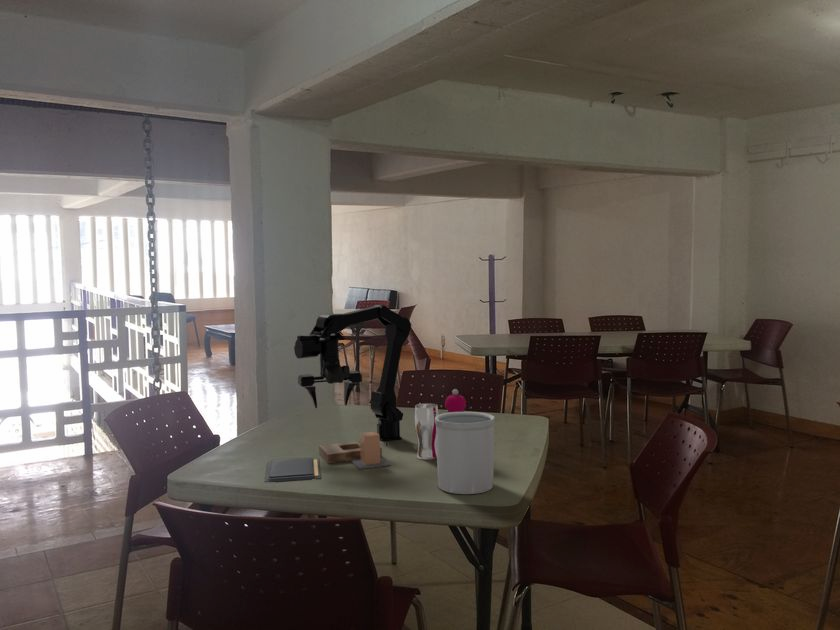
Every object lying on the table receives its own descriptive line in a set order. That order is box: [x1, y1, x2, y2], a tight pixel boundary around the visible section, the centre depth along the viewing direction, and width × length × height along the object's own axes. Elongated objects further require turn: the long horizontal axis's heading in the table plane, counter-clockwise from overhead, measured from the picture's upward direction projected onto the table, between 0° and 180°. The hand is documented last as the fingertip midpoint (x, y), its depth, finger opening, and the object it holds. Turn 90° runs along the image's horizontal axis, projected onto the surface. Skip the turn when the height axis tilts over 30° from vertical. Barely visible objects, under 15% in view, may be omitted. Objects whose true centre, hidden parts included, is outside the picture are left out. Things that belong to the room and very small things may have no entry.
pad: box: [350, 456, 391, 470], centre depth 196 cm, size 9×9×1 cm
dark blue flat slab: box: [264, 457, 322, 483], centre depth 190 cm, size 20×2×15 cm
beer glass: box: [413, 403, 439, 461], centre depth 201 cm, size 7×7×15 cm
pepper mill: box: [444, 388, 467, 413], centre depth 198 cm, size 7×7×20 cm
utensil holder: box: [435, 411, 496, 495], centre depth 173 cm, size 15×15×18 cm
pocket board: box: [318, 440, 383, 464], centre depth 204 cm, size 16×11×3 cm
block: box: [359, 431, 381, 465], centre depth 195 cm, size 4×4×8 cm
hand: (330, 406), depth 212 cm, fingers open, 9 cm apart
